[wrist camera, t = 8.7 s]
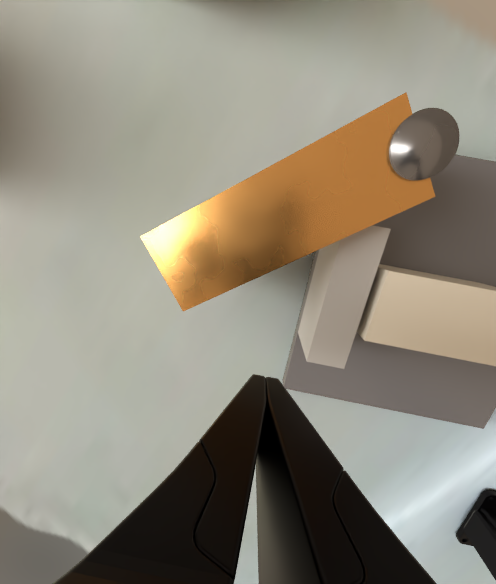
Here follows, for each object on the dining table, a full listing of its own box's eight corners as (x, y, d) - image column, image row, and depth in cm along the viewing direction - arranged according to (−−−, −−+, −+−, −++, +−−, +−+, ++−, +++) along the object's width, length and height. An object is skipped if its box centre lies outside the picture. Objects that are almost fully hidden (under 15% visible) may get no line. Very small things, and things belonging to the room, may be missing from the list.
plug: (555, 296, 16) (650, 319, 12) (525, 350, 17) (602, 387, 13) (359, 260, 16) (388, 270, 12) (342, 314, 17) (364, 340, 13)
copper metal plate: (440, 188, 11) (471, 181, 9) (192, 302, 13) (181, 312, 12) (414, 96, 10) (444, 70, 8) (155, 235, 12) (138, 236, 11)
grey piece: (599, 186, 15) (761, 167, 10) (473, 418, 20) (539, 480, 15) (343, 141, 15) (379, 101, 10) (282, 380, 20) (287, 428, 15)
